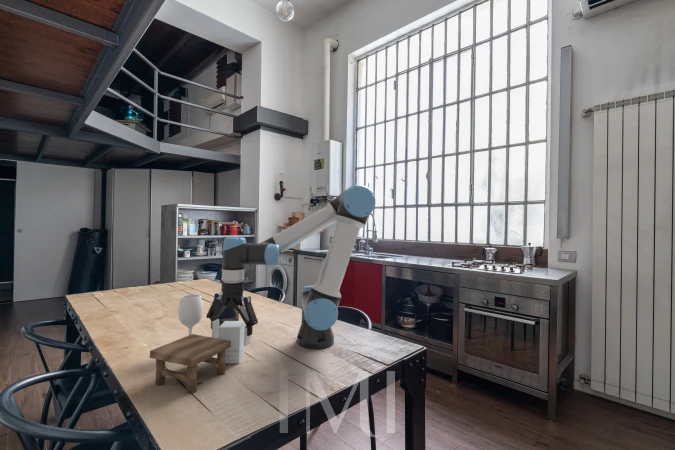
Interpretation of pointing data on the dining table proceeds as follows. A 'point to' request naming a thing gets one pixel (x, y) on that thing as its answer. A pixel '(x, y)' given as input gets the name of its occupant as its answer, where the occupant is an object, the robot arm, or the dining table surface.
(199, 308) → the wineglass
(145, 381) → the dining table surface
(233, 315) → the canister
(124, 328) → the dining table surface
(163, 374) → the stool
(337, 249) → the robot arm
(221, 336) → the supplement box
